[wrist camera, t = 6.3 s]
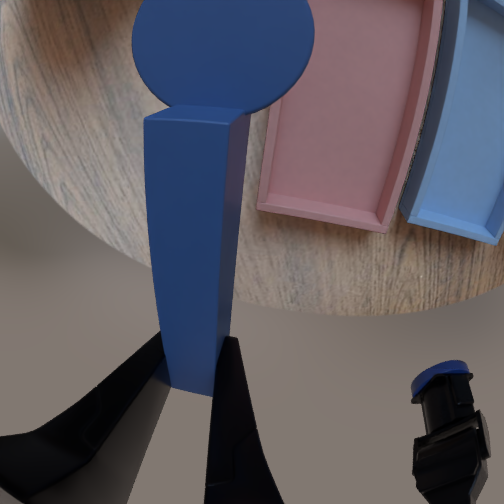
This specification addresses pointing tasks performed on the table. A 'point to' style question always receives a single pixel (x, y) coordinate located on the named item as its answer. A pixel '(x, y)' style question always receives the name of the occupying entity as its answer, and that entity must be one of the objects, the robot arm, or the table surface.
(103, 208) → the table surface
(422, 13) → the rose tray
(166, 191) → the blue paddle
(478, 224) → the blue tray
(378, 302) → the table surface
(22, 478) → the robot arm
